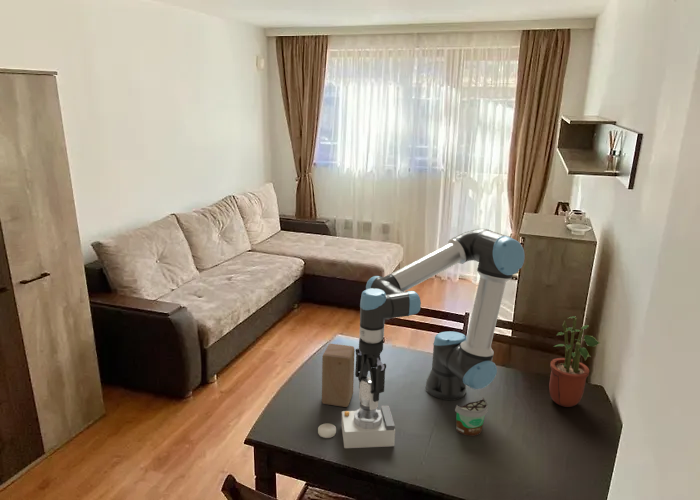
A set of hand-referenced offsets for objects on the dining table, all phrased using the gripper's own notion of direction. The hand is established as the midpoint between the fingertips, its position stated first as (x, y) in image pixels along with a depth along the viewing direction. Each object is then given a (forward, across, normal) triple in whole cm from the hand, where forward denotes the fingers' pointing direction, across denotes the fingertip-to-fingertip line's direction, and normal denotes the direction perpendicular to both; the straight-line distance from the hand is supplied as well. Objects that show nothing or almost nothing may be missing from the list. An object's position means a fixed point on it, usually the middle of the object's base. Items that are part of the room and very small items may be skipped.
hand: (368, 403), depth 160 cm
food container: (+12, +16, +32) cm, 38 cm away
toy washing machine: (+12, 0, 0) cm, 12 cm away
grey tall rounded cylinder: (+4, 0, 0) cm, 4 cm away
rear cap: (+13, -9, -10) cm, 18 cm away
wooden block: (+12, -23, +3) cm, 27 cm away
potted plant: (+12, +20, +76) cm, 80 cm away
